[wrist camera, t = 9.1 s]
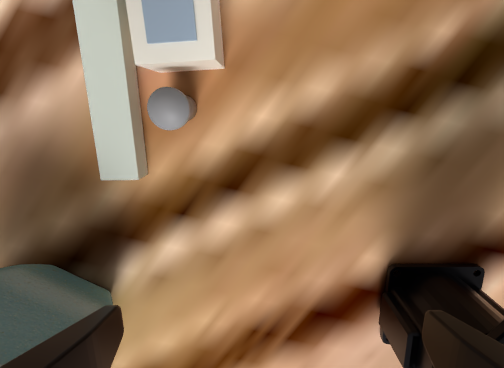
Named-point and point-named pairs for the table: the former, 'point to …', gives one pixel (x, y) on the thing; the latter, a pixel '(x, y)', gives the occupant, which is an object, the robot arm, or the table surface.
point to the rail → (120, 91)
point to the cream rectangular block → (176, 34)
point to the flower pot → (42, 305)
